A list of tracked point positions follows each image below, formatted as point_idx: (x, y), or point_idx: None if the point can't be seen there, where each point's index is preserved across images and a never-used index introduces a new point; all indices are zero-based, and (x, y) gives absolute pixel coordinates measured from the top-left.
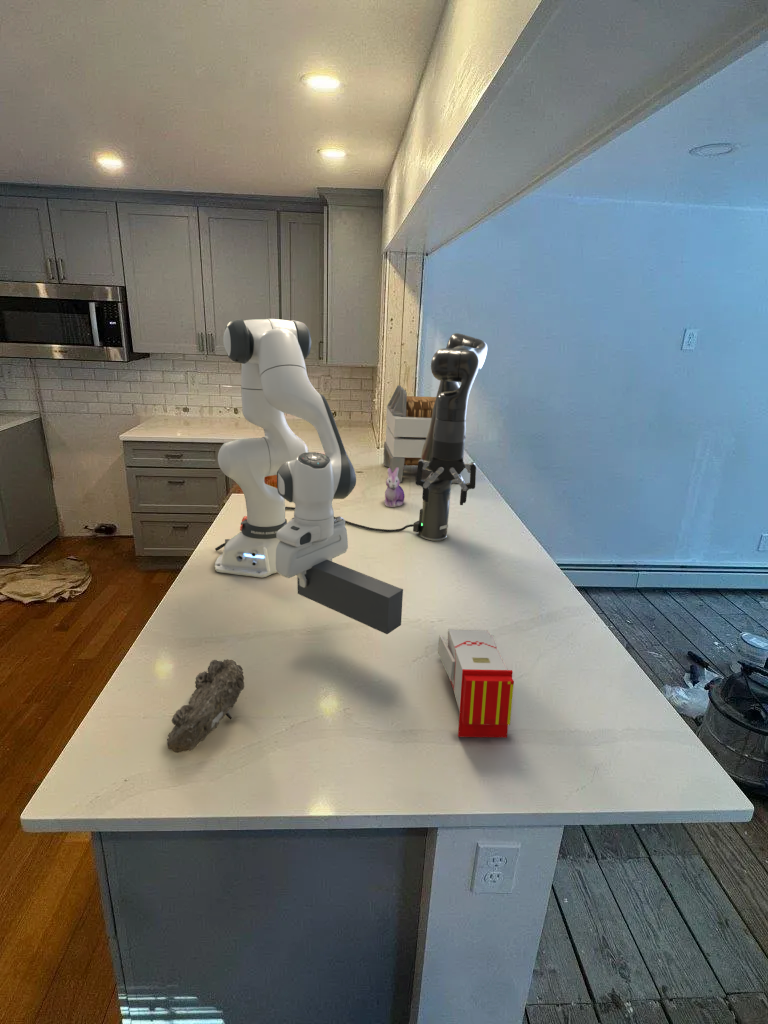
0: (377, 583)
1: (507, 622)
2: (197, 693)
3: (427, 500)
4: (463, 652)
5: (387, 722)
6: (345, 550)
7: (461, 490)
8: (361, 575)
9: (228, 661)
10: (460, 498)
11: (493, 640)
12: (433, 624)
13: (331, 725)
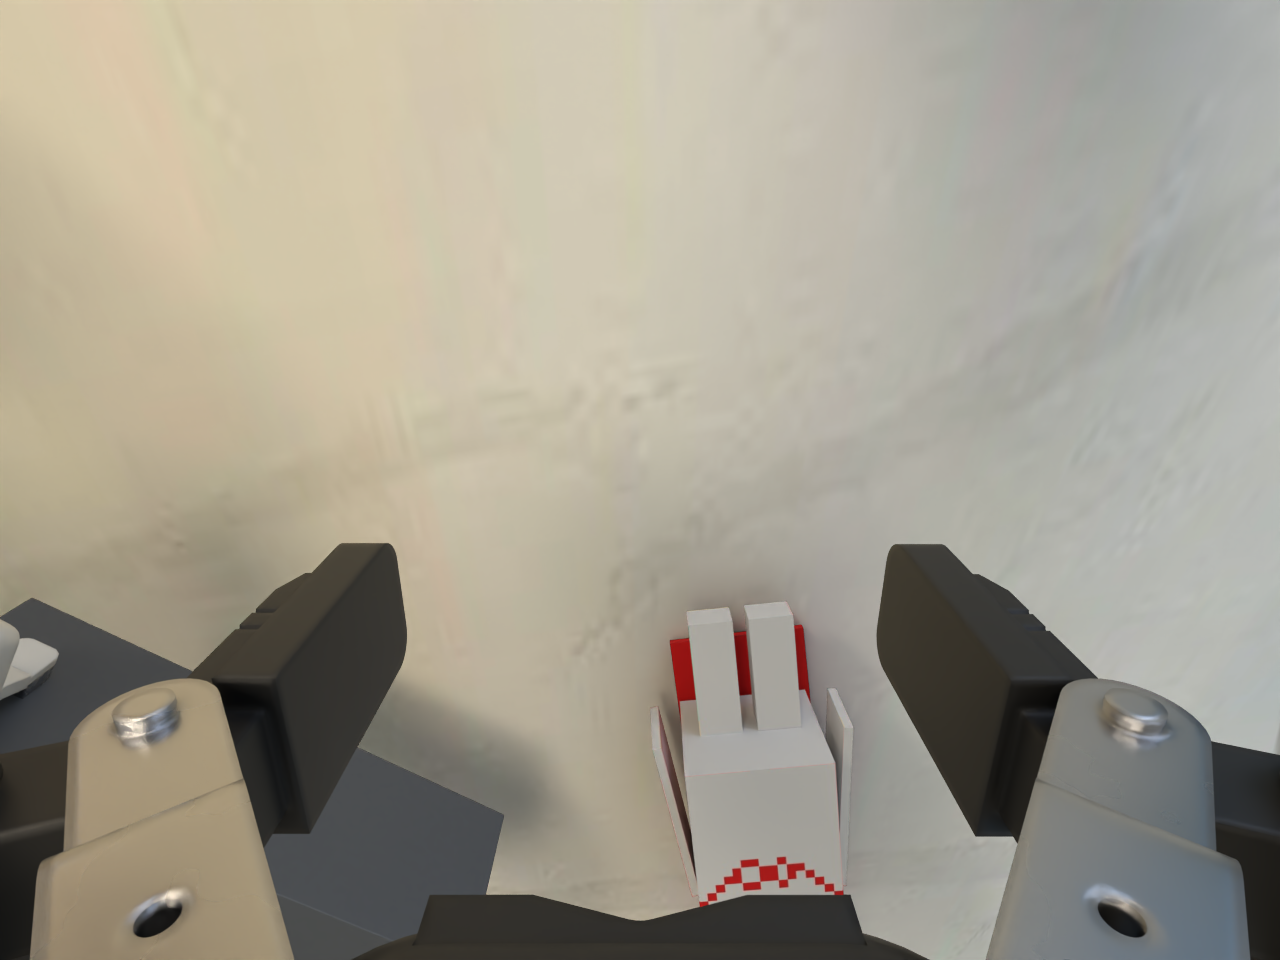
0: (337, 946)
1: (955, 355)
2: None
3: (389, 676)
4: None
5: (534, 871)
6: (6, 653)
7: (985, 806)
8: None
9: None
10: (915, 664)
11: (846, 766)
12: (636, 423)
13: None
